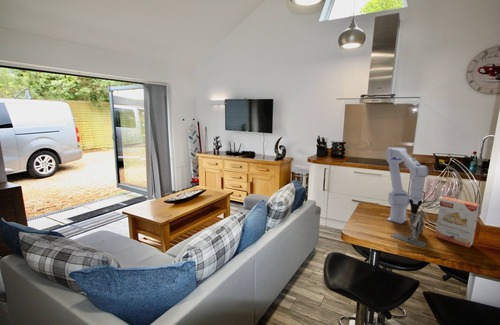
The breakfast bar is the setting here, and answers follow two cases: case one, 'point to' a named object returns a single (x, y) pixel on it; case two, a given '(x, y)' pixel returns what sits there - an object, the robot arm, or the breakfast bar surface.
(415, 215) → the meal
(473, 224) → the cracker box
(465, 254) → the breakfast bar surface
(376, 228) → the breakfast bar surface
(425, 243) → the gray flat rectangular plate
